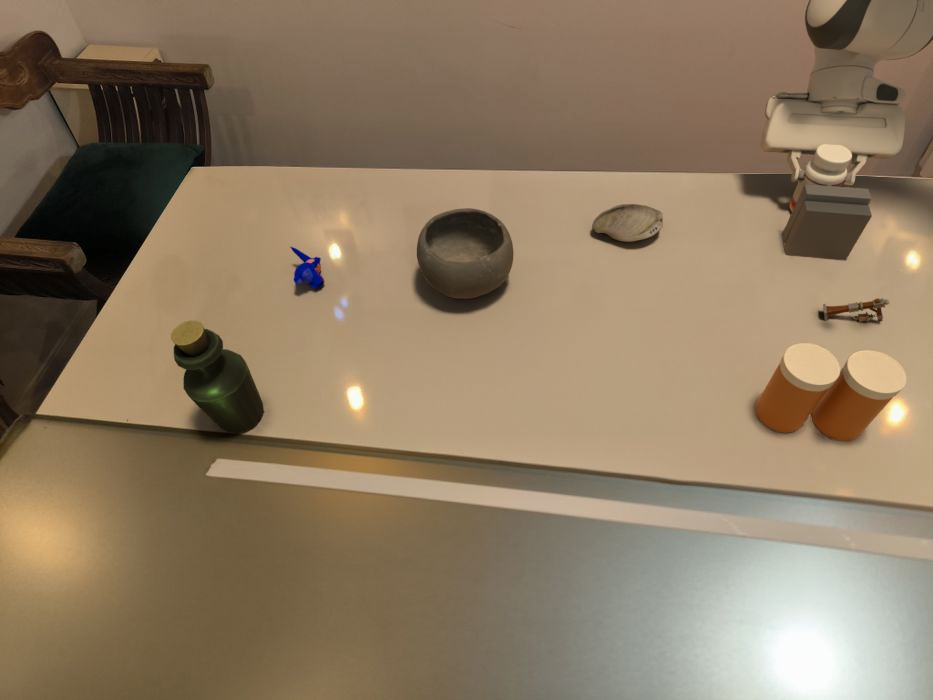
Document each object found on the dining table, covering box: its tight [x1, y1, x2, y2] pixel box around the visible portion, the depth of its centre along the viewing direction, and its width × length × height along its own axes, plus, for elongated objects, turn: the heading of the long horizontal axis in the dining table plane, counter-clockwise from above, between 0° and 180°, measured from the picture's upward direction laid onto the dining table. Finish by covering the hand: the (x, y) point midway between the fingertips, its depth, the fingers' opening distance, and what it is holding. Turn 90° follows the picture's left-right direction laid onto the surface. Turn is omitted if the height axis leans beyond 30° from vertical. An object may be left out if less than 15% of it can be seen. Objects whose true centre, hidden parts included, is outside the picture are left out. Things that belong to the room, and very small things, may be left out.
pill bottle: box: [789, 144, 852, 213], centre depth 99 cm, size 6×6×11 cm
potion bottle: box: [170, 319, 265, 434], centre depth 78 cm, size 8×8×18 cm
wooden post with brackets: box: [822, 297, 890, 323], centre depth 88 cm, size 2×8×4 cm, turn 77°
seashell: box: [591, 203, 664, 242], centre depth 101 cm, size 12×8×5 cm
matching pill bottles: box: [755, 342, 907, 442], centre depth 75 cm, size 6×13×11 cm, turn 78°
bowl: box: [416, 207, 514, 299], centre depth 95 cm, size 15×15×10 cm
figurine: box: [290, 246, 325, 290], centre depth 99 cm, size 5×8×5 cm, turn 12°
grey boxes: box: [781, 184, 873, 261], centre depth 95 cm, size 5×9×10 cm, turn 78°
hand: (822, 183), depth 99 cm, fingers closed on pill bottle, 6 cm apart
